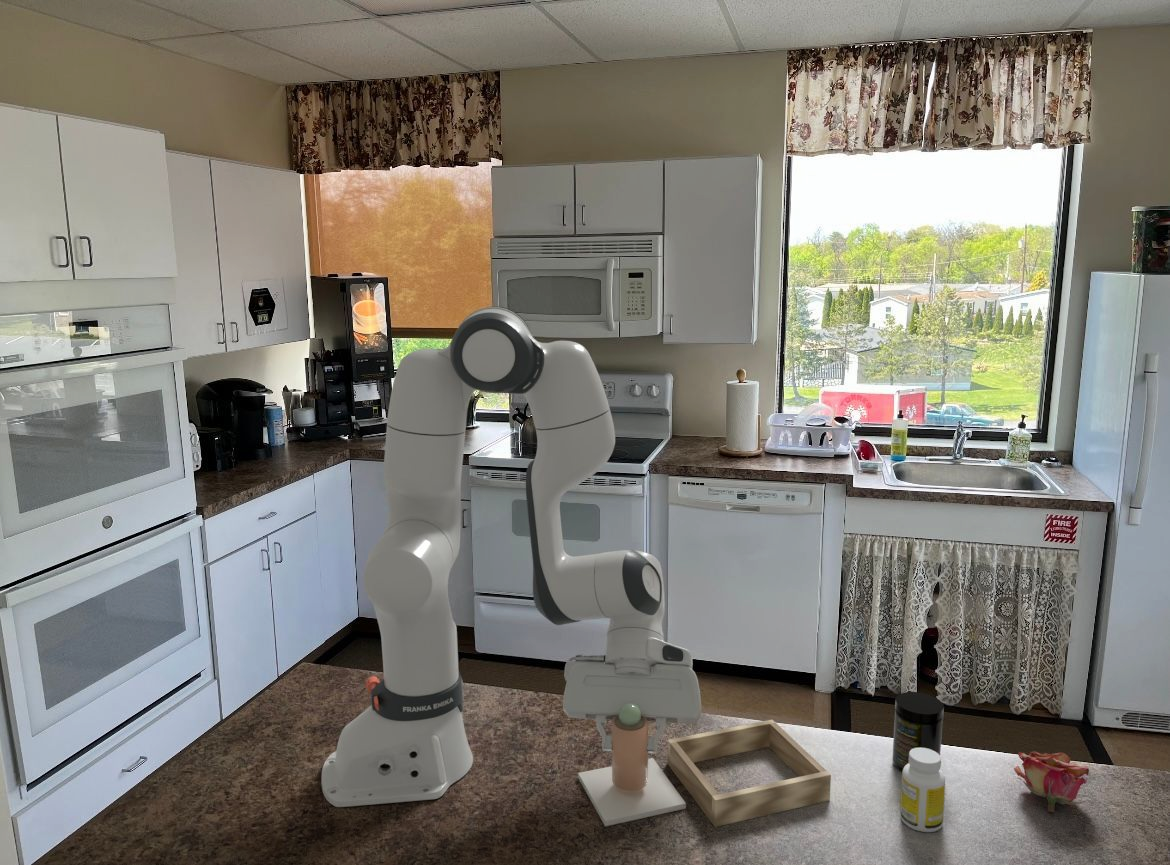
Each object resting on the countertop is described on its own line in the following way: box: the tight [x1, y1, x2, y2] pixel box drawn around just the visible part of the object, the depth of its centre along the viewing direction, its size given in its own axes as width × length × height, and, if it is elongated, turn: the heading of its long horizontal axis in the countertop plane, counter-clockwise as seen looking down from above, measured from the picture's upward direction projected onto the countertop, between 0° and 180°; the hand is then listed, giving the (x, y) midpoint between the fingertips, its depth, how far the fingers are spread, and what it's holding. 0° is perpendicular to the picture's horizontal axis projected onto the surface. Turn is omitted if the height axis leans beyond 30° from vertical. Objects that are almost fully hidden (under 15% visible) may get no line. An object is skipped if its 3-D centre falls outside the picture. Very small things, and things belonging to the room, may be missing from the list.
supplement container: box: [892, 691, 945, 773], centre depth 128 cm, size 7×7×10 cm
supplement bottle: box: [899, 748, 946, 833], centre depth 115 cm, size 5×5×10 cm
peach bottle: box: [611, 703, 649, 791], centre depth 122 cm, size 5×5×12 cm
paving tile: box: [577, 757, 687, 827], centre depth 123 cm, size 12×12×1 cm
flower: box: [1013, 750, 1091, 814], centre depth 119 cm, size 10×9×8 cm
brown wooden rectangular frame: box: [667, 719, 832, 828], centre depth 125 cm, size 18×16×4 cm
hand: (629, 751), depth 121 cm, fingers closed on peach bottle, 5 cm apart
